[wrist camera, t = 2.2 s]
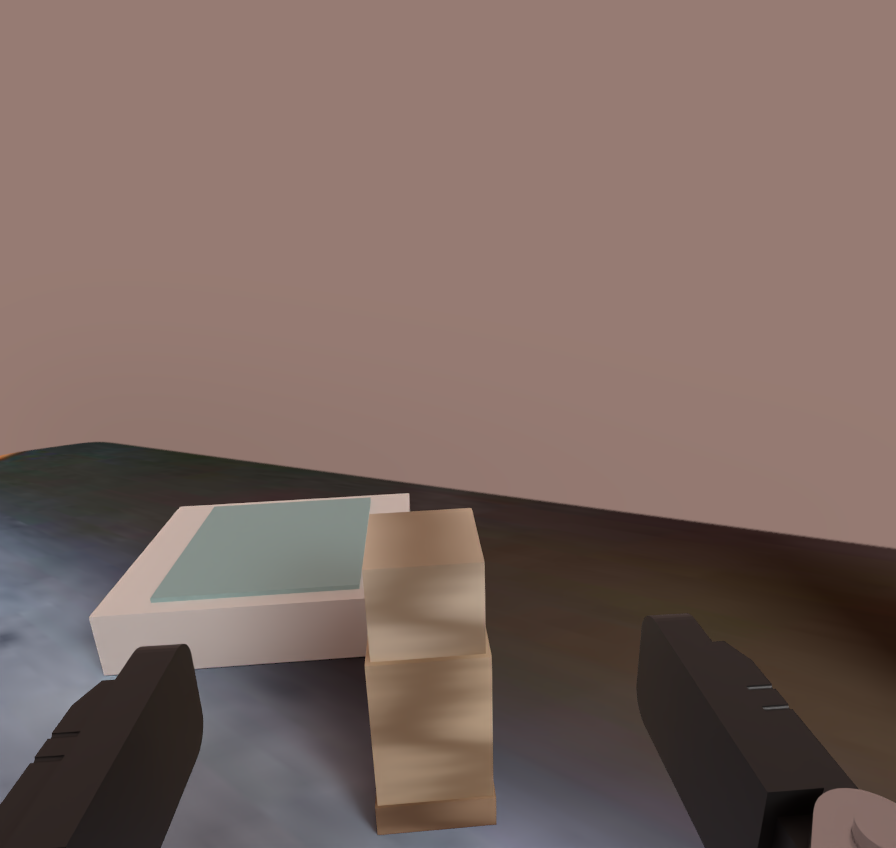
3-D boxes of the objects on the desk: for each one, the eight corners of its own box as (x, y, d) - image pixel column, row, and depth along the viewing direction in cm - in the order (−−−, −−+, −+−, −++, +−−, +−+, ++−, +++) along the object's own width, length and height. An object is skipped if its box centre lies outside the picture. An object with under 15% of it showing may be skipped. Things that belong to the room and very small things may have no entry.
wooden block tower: (481, 729, 30) (477, 504, 26) (496, 824, 25) (493, 565, 21) (382, 737, 29) (362, 511, 25) (377, 835, 25) (352, 575, 21)
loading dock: (411, 537, 48) (408, 489, 47) (413, 652, 35) (409, 590, 34) (188, 551, 47) (179, 503, 46) (104, 675, 34) (87, 612, 33)
